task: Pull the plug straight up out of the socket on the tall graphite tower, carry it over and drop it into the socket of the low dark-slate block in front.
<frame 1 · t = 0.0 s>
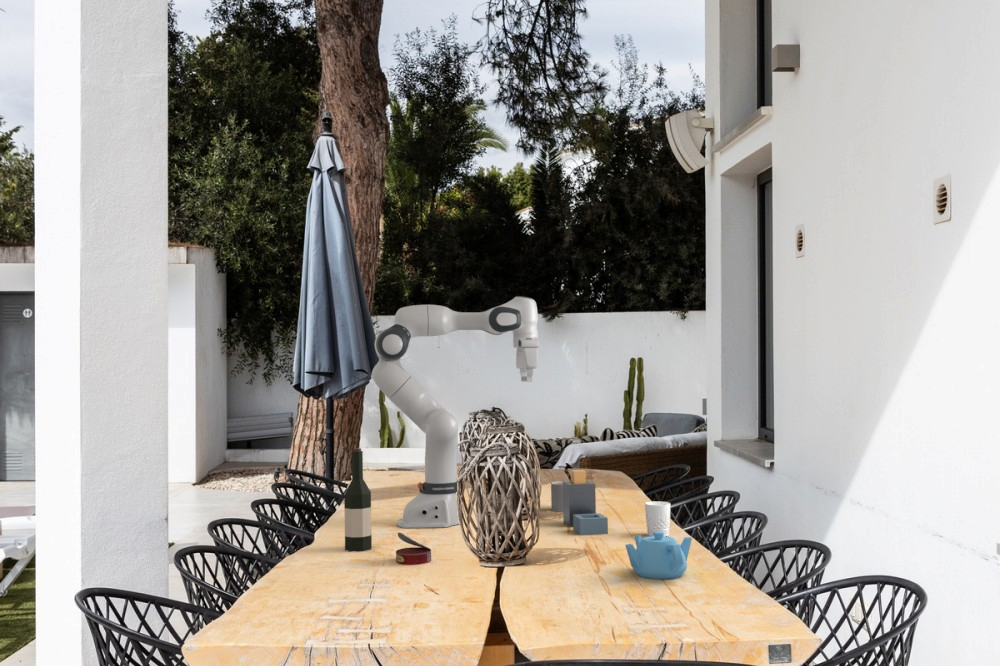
hand: (526, 381, 326), 48 cm above the table, fingers open, 8 cm apart
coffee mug: (569, 510, 342), on the table
upper socket: (579, 524, 312), on the table
lower socket: (590, 531, 298), on the table
canned food: (413, 562, 260), on the table
wine bottle: (358, 549, 278), on the table
white cup: (658, 536, 290), on the table
plug: (578, 491, 312), point 11 cm above the table, touching upper socket
teapot: (659, 574, 239), on the table
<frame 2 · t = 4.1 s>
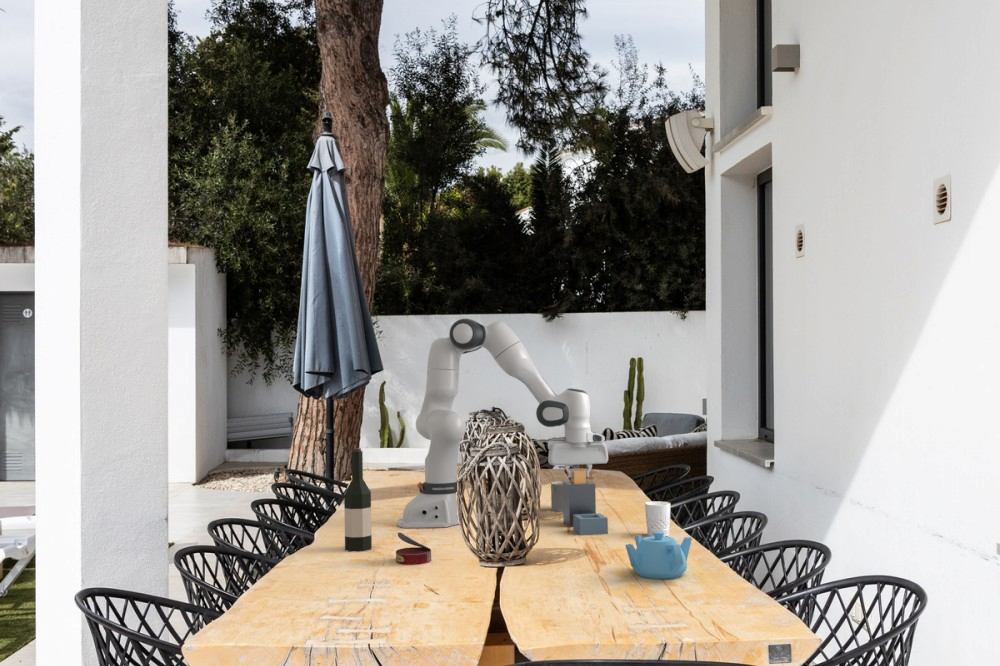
hand: (578, 477, 312), 16 cm above the table, fingers closed on plug, 4 cm apart
plug: (578, 491, 312), point 11 cm above the table, touching gripper, upper socket
everything else where it was.
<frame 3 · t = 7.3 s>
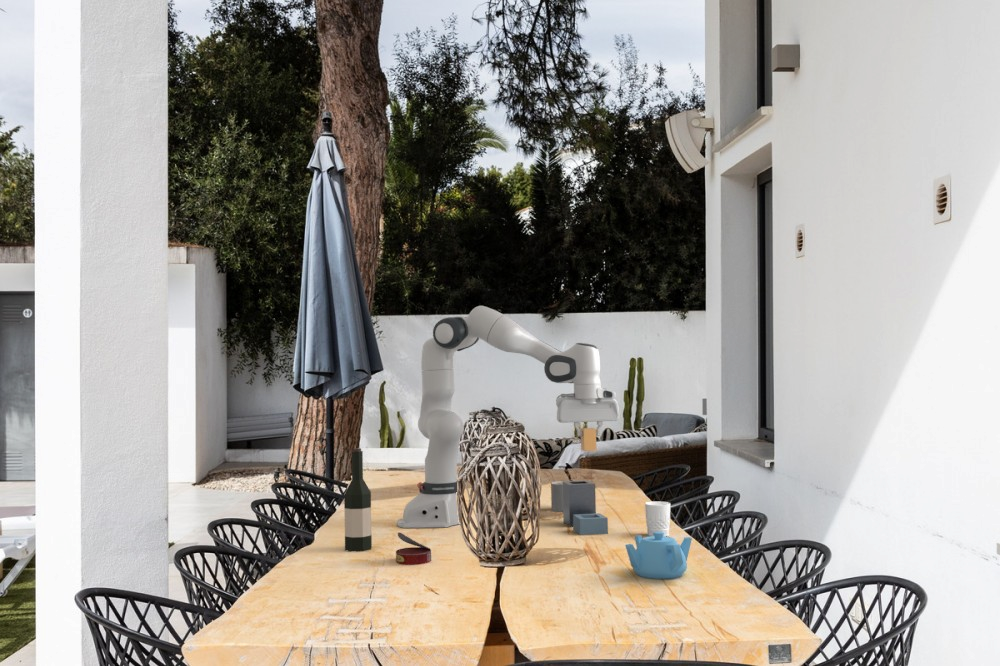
hand: (588, 436, 299), 31 cm above the table, fingers closed on plug, 4 cm apart
plug: (588, 450, 299), point 26 cm above the table, touching gripper
everything else where it was.
when the fingers open (7 cm above the table, at t = 10.9 s): plug stays where it is, resting on lower socket.
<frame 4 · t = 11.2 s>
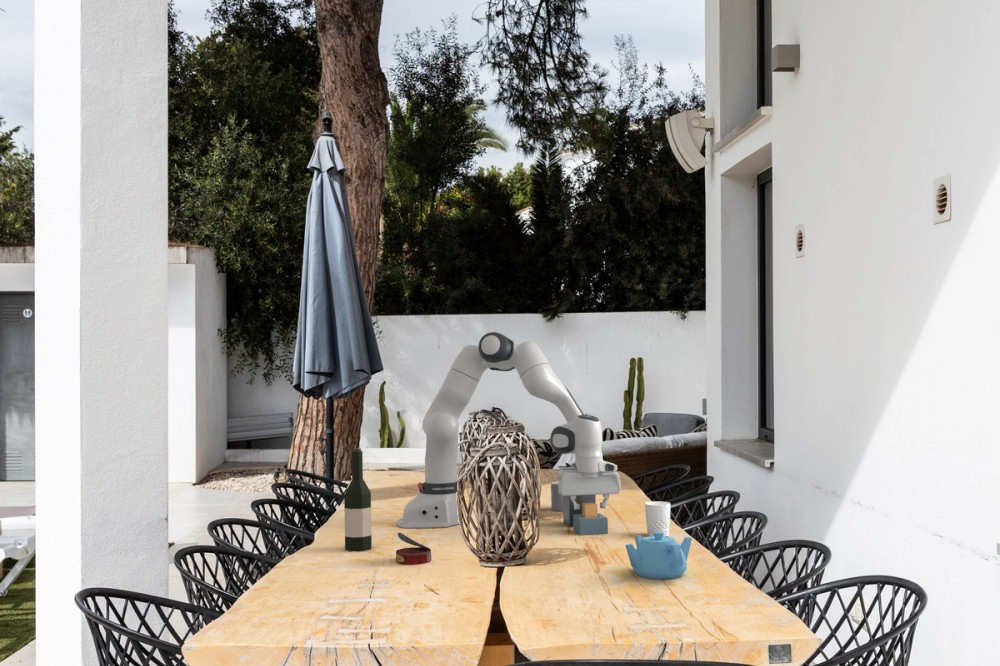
hand: (589, 508, 298), 7 cm above the table, fingers open, 7 cm apart
plug: (590, 525, 298), point 2 cm above the table, touching lower socket
everything else where it was.
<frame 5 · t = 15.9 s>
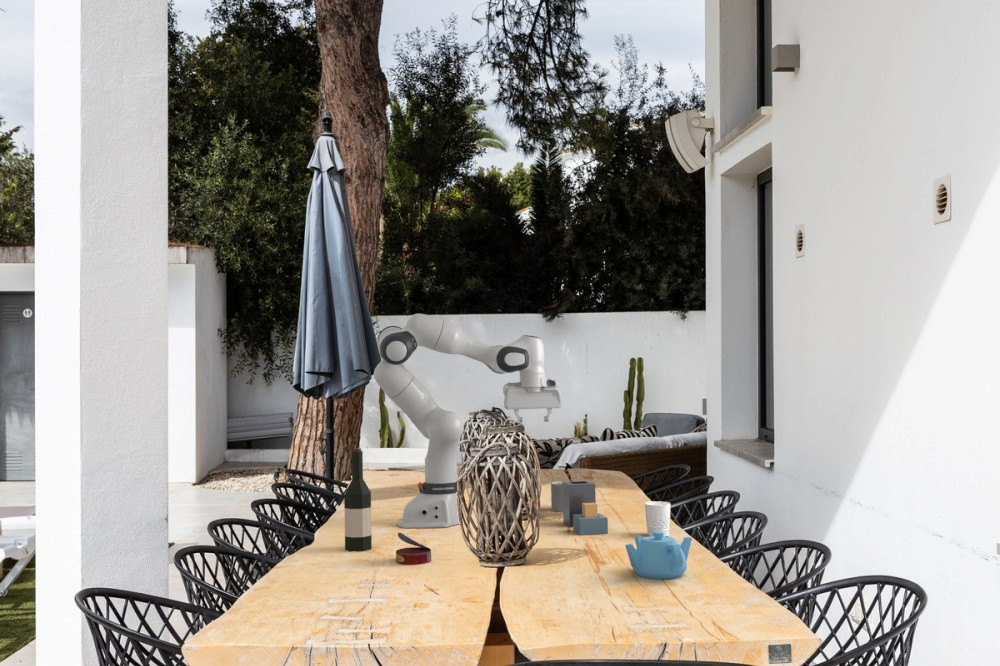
hand: (533, 421, 321), 34 cm above the table, fingers open, 8 cm apart
nothing on the table moved.
at the end: plug 0.1 cm off-centre on the lower socket, point 2.0 cm above the lower socket's base; plug tilted 0°; the gripper is holding nothing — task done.
